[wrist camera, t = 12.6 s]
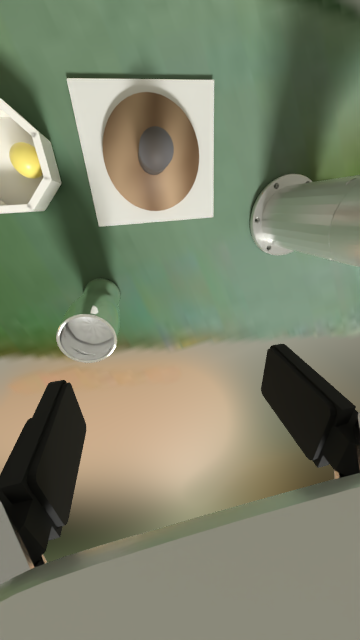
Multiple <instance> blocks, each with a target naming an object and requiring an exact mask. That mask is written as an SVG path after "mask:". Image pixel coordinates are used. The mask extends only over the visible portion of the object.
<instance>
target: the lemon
mask: <svg viewBox="0 0 360 640" xmlns="http://www.w3.org/2000/svg"><path fill="white" fill-rule="evenodd" d="M9 157H10V161H11V163H12V165H13V167H14V168H15V169H16V170H17V171H18V172H19V173H20V174H21V175H23V176H25V177H27V178H32V179H35V178H39V177H40V176H42V175H43V173H42V169H41V166H40V163H39V159H38V156H37V152H36V149H35V147H34V146H32V145H30V144H28V143H25V142H17V143H15V144H13V145H12V146H11V148H10V151H9Z"/></svg>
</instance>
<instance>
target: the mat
mask: <svg viewBox="0 0 360 640" xmlns="http://www.w3.org/2000/svg"><path fill="white" fill-rule="evenodd" d="M67 83H68V87H69V92H70V96H71V101H72V105H73V110H74V115H75V119H76V124H77V128H78V133H79V137H80V142H81V146H82V151H83V156H84V160H85V165H86V169H87V174H88V178H89V183H90V188H91V192H92V197H93V201H94V206H95V210H96V215H97V220H98V224H99V227H100V226H112V225H124V224H136V223H148V222H161V221H173V220H185V219H197V218H209V217H213V169H214V80H178V79H92V78H67ZM140 92H152V93H157V94H160V95H163V96H165V97H167V98H169V99H170V100H172V101H173V102H174V103H176V104H177V105H178V106H179V107H180V108H181V109H182V110H183V112H184V113H185V114H186V116H187V117H188V119H189V120H190V122H191V124H192V126H193V129H194V131H195V134H196V137H197V141H198V147H199V167H198V172H197V176H196V179H195V182H194V184H193V186H192V188H191V190H190V191H189V193H188V194H187V196H186V197H185V198H184V199H183V200H182V201H181V202H179V203H178V204H177V205H175V206H173V207H171V208H169V209H166V210H161V211H149V210H144V209H141V208H139V207H137V206H135V205H133V204H131V203H130V202H128V201H127V200H126V199H125V198H124V197H123V196H122V195H121V194H120V193H119V192H118V190H117V189H116V188H115V186H114V185H113V183H112V181H111V179H110V177H109V175H108V173H107V170H106V167H105V163H104V158H103V134H104V130H105V126H106V123H107V120H108V118H109V116H110V114H111V113H112V111H113V110H114V108H115V107H116V106H117V105H118V104H119V103H120V102H121V101H122V100H124V99H125V98H127V97H128V96H131V95H133V94H136V93H140Z"/></svg>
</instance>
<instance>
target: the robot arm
mask: <svg viewBox="0 0 360 640" xmlns="http://www.w3.org/2000/svg"><path fill="white" fill-rule="evenodd" d="M255 219H256V221H255ZM250 230H251V234H252V238H253V240H254V242H255V244H256V245H257V246H258V247H259V248H260V249H261V250H262V251H264V252H266V253H268V254H272V255H285V254H288V253H291V252H293V251H297V252H301V253H305V254H309V255H313V256H317V257H321V258H325V259H328V260H332V261H336V262H340V263H344V264H348V265H352V266H357V267H360V175H357V176H350V177H343V178H337V179H330V180H323V181H316V182H312V180H310V179H309V178H308V177H306V176H304V175H301V174H289V175H284V176H281V177H279V178H277V179H275V180H273V181H272V182H271V183H269V184H268V185H267V186H266V187H265V188H264V189H263V190H262V192H261V193H260V195H259V196H258V198H257V199H256V202H255V204H254V206H253V209H252V213H251V219H250ZM261 391H262V394H263V396H264V398H265V399H266V400H267V402H268V403H269V405H270V406H271V408H272V409H273V410H274V412H275V413H276V414H277V416H278V417H279V419H280V420H281V422H282V423H283V424H284V426H285V427H286V429H287V430H288V432H289V433H290V434H291V436H292V437H293V438H294V440H295V441H296V443H297V444H298V446H299V447H300V448H301V450H302V451H303V453H304V454H305V455H306V457H307V458H308V459H309V460H312V461H313V462H314V463H315V465H316V466H317V467H322V466H326V465H329V464H330V465H331V466H332V467H333V469H334V474H335V479H334V480H330V481H326V482H322V483H319V484H315V485H311V486H308V487H305V488H301V489H297V490H294V491H290V492H286V493H283V494H279V495H275V496H272V497H268V498H264V499H261V500H257V501H254V502H251V503H247V504H243V505H240V506H236V507H233V508H229V509H225V510H222V511H218V512H215V513H212V514H208V515H204V516H201V517H197V518H194V519H190V520H187V521H183V522H180V523H176V524H173V525H169V526H166V527H163V528H159V529H155V530H152V531H148V532H145V533H142V534H138V535H135V536H131V537H128V538H124V539H121V540H117V541H114V542H111V543H108V544H104V545H101V546H98V547H94V548H91V549H88V550H85V551H81V552H78V553H75V554H72V555H69V556H65V557H62V558H59V559H57V560H54V561H51V562H49V563H47V561H46V559H45V557H44V555H43V553H44V552H45V551H46V547H47V544H48V540H52V539H55V538H59V537H60V535H61V530H62V526H64V525H66V524H67V522H68V518H69V513H70V509H71V504H72V499H73V494H74V489H75V484H76V479H77V474H78V469H79V464H80V459H81V454H82V449H83V444H84V439H85V434H86V423H85V420H84V418H83V415H82V412H81V410H80V407H79V404H78V402H77V399H76V396H75V394H74V391H73V388H72V386H71V383H66V381H65V380H61V381H55V382H50V383H49V384H48V385H47V388H46V390H45V392H44V394H43V396H42V398H41V400H40V402H39V404H38V407H37V409H36V411H35V413H34V415H33V417H32V418H30V419H29V420H28V421H27V423H26V424H25V426H24V428H23V430H22V432H21V434H20V436H19V438H18V440H17V442H16V444H15V446H14V448H13V450H12V452H11V454H10V456H9V458H8V460H7V462H6V464H5V466H4V468H3V471H2V472H1V475H0V640H360V412H359V413H358V412H357V411H356V410H355V406H354V405H353V404H352V403H351V402H350V401H349V400H348V399H347V398H345V397H344V396H343V395H342V394H341V393H339V391H337V390H336V389H335V388H334V387H333V386H332V385H330V384H329V383H328V382H327V381H326V380H325V379H324V378H323V377H321V376H320V375H319V374H318V373H317V372H316V371H315V370H313V369H312V368H311V367H310V366H309V365H308V364H307V363H305V362H304V361H303V360H302V359H301V358H300V357H299V356H297V355H296V354H295V353H294V352H293V351H292V350H291V349H289V348H288V347H287V346H286V345H285V344H278V345H273V346H271V347H270V349H268V351H267V357H266V363H265V369H264V375H263V381H262V387H261Z"/></svg>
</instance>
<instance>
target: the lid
mask: <svg viewBox="0 0 360 640" xmlns="http://www.w3.org/2000/svg"><path fill="white" fill-rule="evenodd" d="M103 158H104V163H105V167H106V170H107V173H108V175H109V177H110V179H111V181H112V183H113V185H114V186H115V188H116V189H117V190H118V192H119V193H120V194H121V195H122V196H123V197H124V198H125V199H126V200H127V201H128V202H130V203H131V204H133V205H135V206H137V207H139V208H141V209H144V210H149V211H161V210H166V209H169V208H171V207H173V206H175V205H177V204H178V203H179V202H181V201H182V200H183V199H184V198H185V197H186V196H187V194H188V193H189V191H190V190H191V188H192V186H193V184H194V182H195V179H196V176H197V172H198V167H199V147H198V141H197V137H196V134H195V131H194V129H193V126H192V124H191V122H190V120H189V119H188V117H187V116H186V114H185V113H184V112H183V110H182V109H181V108H180V107H179V106H178V105H177V104H176V103H174V102H173V101H172V100H170V99H169V98H167V97H165V96H163V95H160V94H157V93H152V92H140V93H136V94H133V95H131V96H128V97H127V98H125V99H124V100H122V101H121V102H120V103H119V104H118V105H117V106H116V107H115V108H114V110H113V111H112V113H111V114H110V116H109V118H108V120H107V123H106V126H105V130H104V134H103Z"/></svg>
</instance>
